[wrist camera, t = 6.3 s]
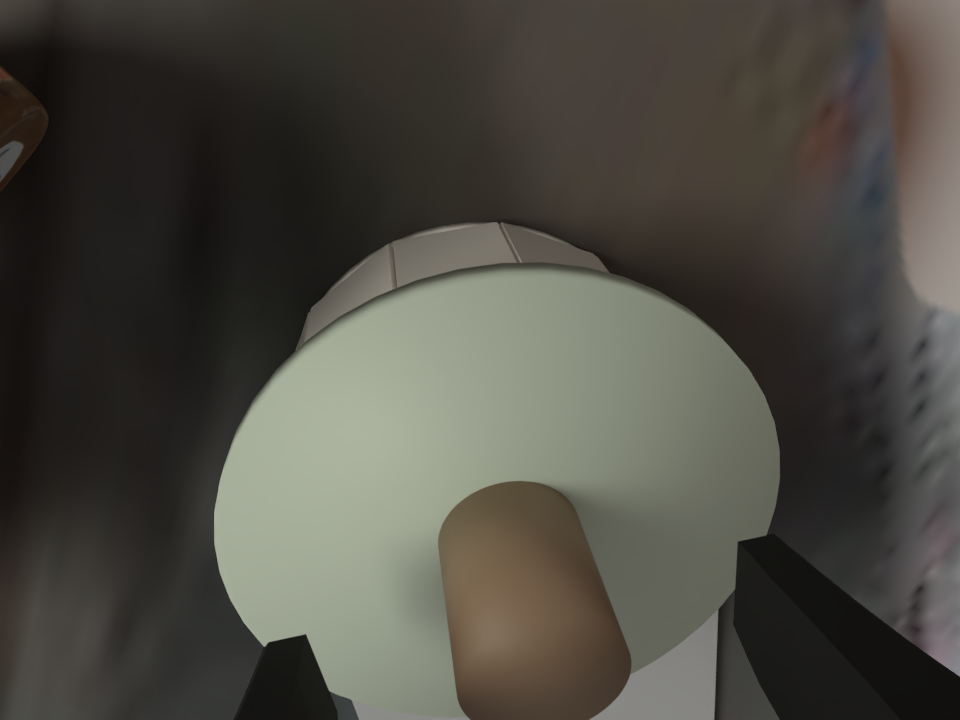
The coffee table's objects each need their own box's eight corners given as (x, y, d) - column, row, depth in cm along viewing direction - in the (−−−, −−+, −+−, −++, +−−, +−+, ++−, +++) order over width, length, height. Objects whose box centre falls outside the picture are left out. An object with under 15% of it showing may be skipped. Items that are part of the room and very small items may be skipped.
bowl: (648, 489, 21) (713, 612, 17) (340, 553, 20) (334, 694, 17) (637, 187, 16) (723, 260, 12) (241, 261, 16) (201, 362, 12)
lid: (754, 635, 18) (844, 791, 14) (310, 736, 17) (297, 922, 14) (780, 203, 12) (936, 297, 9) (122, 336, 12) (26, 488, 8)
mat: (708, 740, 27) (712, 750, 27) (398, 811, 27) (398, 822, 26) (715, 504, 21) (721, 513, 21) (314, 589, 21) (313, 600, 20)
